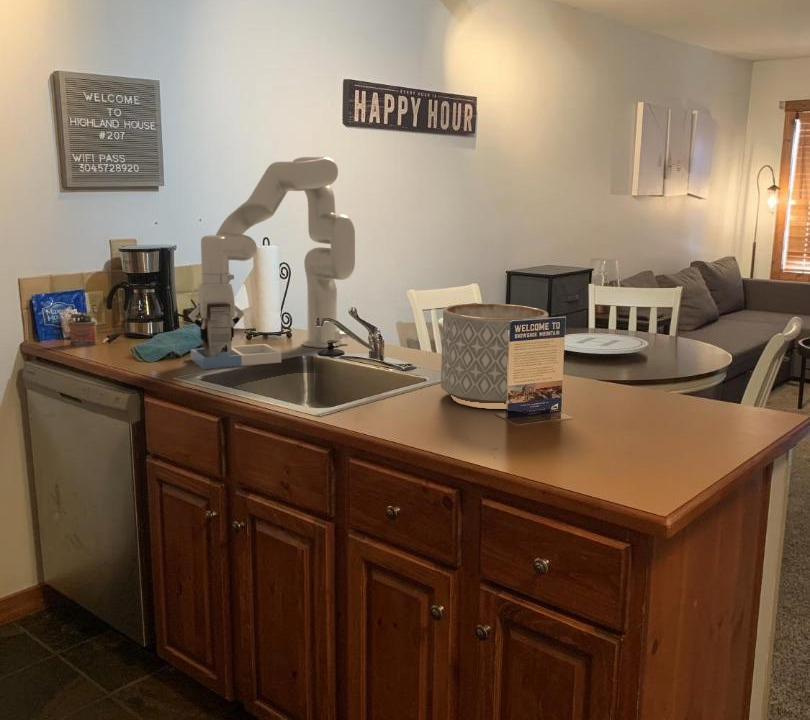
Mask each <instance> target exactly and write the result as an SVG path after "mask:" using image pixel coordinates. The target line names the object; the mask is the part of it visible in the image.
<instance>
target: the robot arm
mask: <svg viewBox="0 0 810 720" xmlns="http://www.w3.org/2000/svg"><path fill="white" fill-rule="evenodd" d="M338 174H339V168H338V165H337V163H336V162H335V160H333V159H332V158H330V157H325V156H315V157H314V156H302V157H298V158H295V159H294V160H292V161H275V162H272V163H271V164H270V165H269V166H268V167H267V168H266V170H265V171H264V173H263V174H262V176H261V178H260V179H259V181H258V183H257V184H256V186H255V188H254V190H253V191H252V192H251V194H250V196H249V197H248V198H247V200H246V201H244V202H243V203H242V204H241V205H240V206H238V207H237V208H236V209H235V210H234V211H232V212H231V213H230V214H229V215H228V216H227V217H226V218H225V219H224V221H223V222H222V224H221V225H220V227H219V228H218V230H217V232H216V233H215V235H214V234H213V235H212V234H211V235H210V234H209V235H204V236H202V237H201V239H200V251H201V252H200V253H201V254H200V255H201V257H200V258H201V283H199V284H198V290H197V303H196V306H197V307H195V308H194V310H192V311H191V312H190V313H189V314H188V318H189V319H190V320H191V321H192V322H193V323H194V324H195V325H197V326H198V327H199V330H200V331H199V332H200V335H199V336H200V340H201V341H202V342H203V344H204V343H207V342H208V340H207V329H206V325H207V304H230V305H231V342H232V341H233V338H234V337H235V332H234V329H235V327H236V325H237V324H238V323H239V322H240V320H241V319H242V318H243V316H244V315H245V312H243V311H242V310H241V309H240V308H239V306H236V305H235V303H236V302H235V296H234V290H233V289H234V288H233V285H232V283H230V282H231V281H232V280H234V279H235V275H234V274H231V273H230V261H240V262H246V261H248V260H251V259H252V258H253V257H254V256H255V255H256V253H257V243H256V241H255V240H254V239H253V238H252V237H250V236H249V235H246V234H245V233H246V232H247V231H248V230H249V229H251V228H252V227H253V226H256V225H257V224H260V223H262V222H265V221H267V220H268V219H271V218H272V217H273V216H274V215H275V213H276V212H277V210H278V209H279V207H280V205H281V204H282V202H283V200H284V198H285V197H286V195H287V193H288V192H292V191H293V192H301V191H304V193H305V195H306V196H305V197H306V199H307V214H308V215H307V218H308V219H307V222H308V223H307V226H308V235H309V237H310V239H311V241H313V242H315V243H318V244H323V245H324V244H325V245H326V244H327V245H330V247H321V246H319V247H314V248H312V249H310V250H308V251H307V252H306V255H305V257H304V260H303V261H304V266H303V267H304V270H305V271H304V272H305V276H306V283H307V285H306V286H307V338H306V339H304V340H302V345H303V346H304V347H308V348H309V347H310V348H317V349H320V348H321V349H324V348H325V349H327V347H328V343H327V341H328V340H335V341H337V342H336V343H335V347H334V348H336V346H337V347H340V346H341V345H342V339H349V338H351V336H350V337H349V336H348V335H347V334H346V333H344V332H345V331H340V330H338V326H336V325H334V324H333V323H331V322H325V323H324V324H323V326H321V327H317V326H316V325H315V320H316V319H317V318H331V319H334V320H336V321H338V320H337V319H338V290H337V284H336V281H335V280H339V281H342V280H344V281H345V280H347V279H349V278H350V277H351V276H352V275H353V273H354V271H355V265H356V231H355V226H354V223H353V221H352V219H351V218H350V217H348V215H346V214H342V213H341V214H340V213H336V203H335V195H334V190H333V189H332V187H331V185H333V184H334V183H335V182H336V180H337V178H338V176H339V175H338ZM196 316H197V317H199V318H201V319H200V320H199V319H198V318H197V317H196Z"/></svg>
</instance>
